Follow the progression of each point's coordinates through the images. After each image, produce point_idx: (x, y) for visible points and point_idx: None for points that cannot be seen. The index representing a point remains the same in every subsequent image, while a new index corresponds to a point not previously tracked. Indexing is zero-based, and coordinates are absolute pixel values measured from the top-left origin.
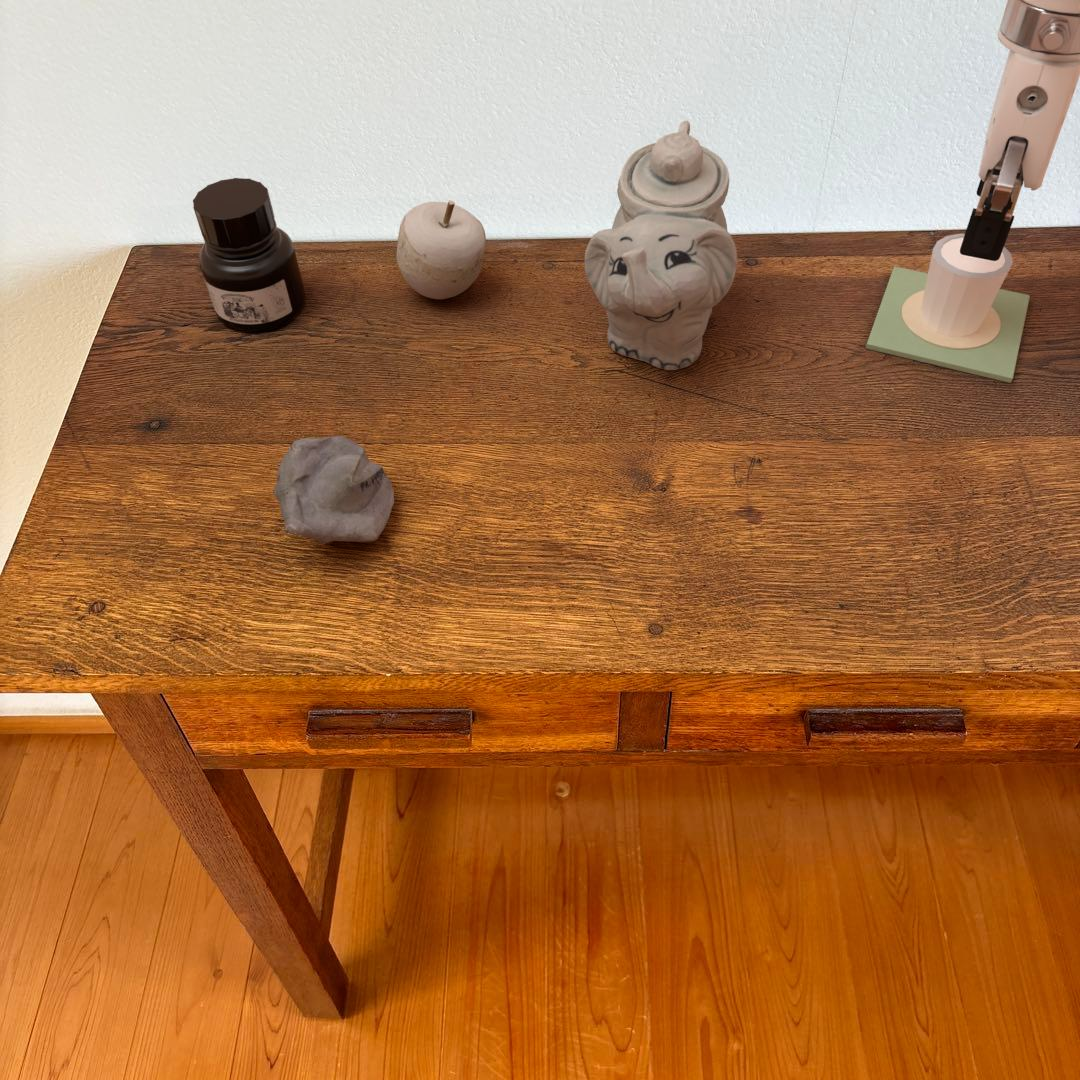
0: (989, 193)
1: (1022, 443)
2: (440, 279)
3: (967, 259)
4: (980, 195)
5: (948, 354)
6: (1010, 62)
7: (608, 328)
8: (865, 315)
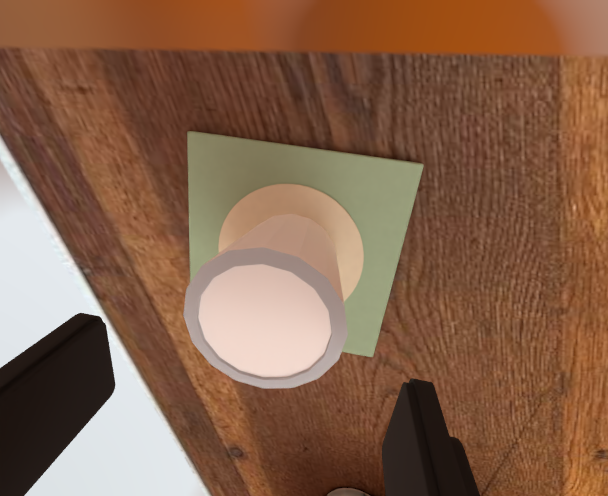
0: (102, 378)
1: (578, 145)
2: None
3: (280, 334)
4: (113, 386)
5: (377, 260)
6: None
7: None
8: None
